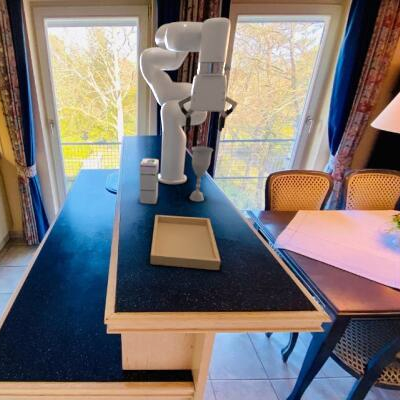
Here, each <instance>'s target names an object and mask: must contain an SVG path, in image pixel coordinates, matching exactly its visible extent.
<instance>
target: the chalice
mask: <svg viewBox="0 0 400 400" xmlns="http://www.w3.org/2000/svg"><path fill="white" fill-rule="evenodd" d="M191 151H192V156H191V166H192V169H193V172H194V175H195V176H197V179H196V184H195V187H196V189H195V190H193V191H192V192H191V194H190V196H189V200H191V201H193V202H203V201H204V199H205V198H204V195H203V192H202V191H200V187H201V182H202V180H201V178H202V176H204V175H205V174H206V172H207V171H208V169H209V167H210V165H211V159H212V153H213V151H214V149H213V147H209V146H203V145H202V146H200V145H197V146H192V147H191Z"/></svg>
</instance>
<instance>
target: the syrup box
mask: <svg viewBox="0 0 400 400" xmlns="http://www.w3.org/2000/svg"><path fill="white" fill-rule="evenodd" d="M159 160H160V159H158V158H142V159H141V161H140V163H139V203H140V204H148V205H156V204H157V201H158V198H159V196H158V195H159V181H158V174H159Z"/></svg>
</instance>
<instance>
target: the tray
mask: <svg viewBox="0 0 400 400" xmlns="http://www.w3.org/2000/svg"><path fill="white" fill-rule="evenodd" d="M151 241H152V242H151V250H150V251H151V252H150V265H156V266H157V265H158V266H166V267H167V266H169V267H179V268H188V269H189V268H190V269H201V270H210V271H219V270H220V266H221V258H220V253H219V249H218V246H217V242H216V239H215V234H214V230H213V227H212V223H211V219H210V218H206V217H193V216H192V217H191V216H178V215H163V214H155V216H154V224H153V233H152V240H151Z"/></svg>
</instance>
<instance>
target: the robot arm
mask: <svg viewBox="0 0 400 400" xmlns="http://www.w3.org/2000/svg"><path fill="white" fill-rule="evenodd" d="M231 27H232V23H231V20H230V19H229V18H227V17H211V18H208V19H205V20H204V21H203V22H202V21H176V22H175V21H174V22H170V23H165V24H162V25H161V26H160V27H159V28H158V29H157V30H156V32H155V35H154V39H155V44H156V45H157V47H148V48H146V49H144V50H143V51H142V52H141V54H140V57H139V66H140V71H141V74H142V76H143V78H144V80H145V81H146V83H147V84H148V85H149V87H150V88H151V90H152V93H153V95H154V97H155V99H156V101H157V103H158V104H159V106H161V109H160V118H161V128H162V131H161V132H162V134H161V135H162V136H161V153H160V154H161V155H160V156H161V157H160V172H159V173H158V183H159V182H160V183H162V184H166V185H180V184H185V183H186V182H187V179H188V177H187V175H186V174H184V173H185V161H186V151H187V150H186V149H187V134H186V133H185V131H184V129H183V127H185V128H187V131H189V132H190V131H191V126H199V125H201V124H203V123H204V122H205V121H206V119H207V116H208V112H218V113H219V114H220V117H219V119H218V127H217V130H218V131H219V132H222V131H223V129H225V124H226V119H227V117H228V116H230V115H231V114H232V113H233V112H234V110H235V109H236V107H237V106H238V102H237V101H235V100H234V99H233V98H231V97H228V96H227V82H228V81H227V74H225V73H226V72H227V71H231V65H228V64H227V57H228V50H229V42H230V34H231ZM189 53H199V54H198V64H197V73H196V75H194V76H193V80H192V83H190V82H176V81H173V80H172V79H171V77H170V75H169V74H168V73H167V72H165V71H176V70H178V69H179V68H180V67H181V66H182V64H183V63H184V61H185V59H186V57H187V56H188V54H189ZM226 103H228V104H229V105H230V106H229V107H228V108H227V109H226V110H224V109H225V107H226Z"/></svg>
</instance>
